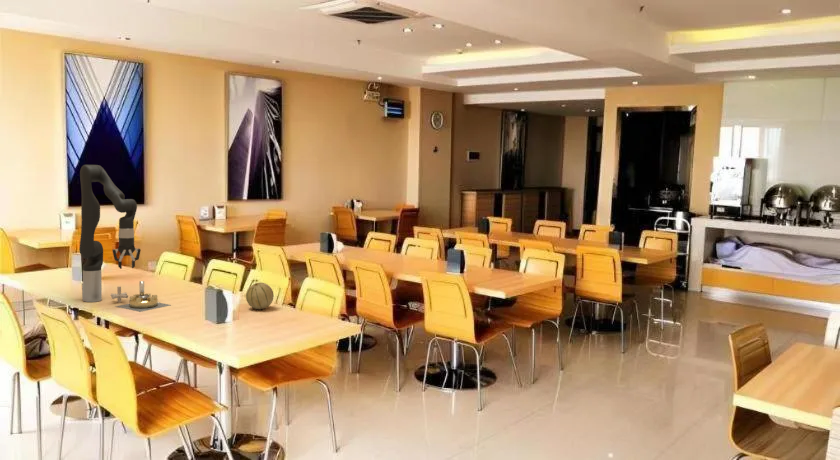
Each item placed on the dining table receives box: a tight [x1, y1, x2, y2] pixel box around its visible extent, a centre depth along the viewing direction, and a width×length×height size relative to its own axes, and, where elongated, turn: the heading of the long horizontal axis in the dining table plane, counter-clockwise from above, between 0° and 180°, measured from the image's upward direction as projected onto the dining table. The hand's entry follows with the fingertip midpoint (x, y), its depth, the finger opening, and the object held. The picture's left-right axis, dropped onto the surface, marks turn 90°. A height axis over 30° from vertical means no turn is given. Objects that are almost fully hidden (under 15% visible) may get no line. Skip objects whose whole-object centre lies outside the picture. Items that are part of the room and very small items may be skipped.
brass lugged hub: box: [128, 280, 159, 308], centre depth 349 cm, size 14×14×12 cm
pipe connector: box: [110, 285, 129, 303], centre depth 355 cm, size 10×10×10 cm
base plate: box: [114, 301, 172, 313], centre depth 349 cm, size 20×20×2 cm
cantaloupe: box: [245, 282, 275, 310], centre depth 358 cm, size 15×15×15 cm
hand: (126, 268), depth 348 cm, fingers open, 5 cm apart
